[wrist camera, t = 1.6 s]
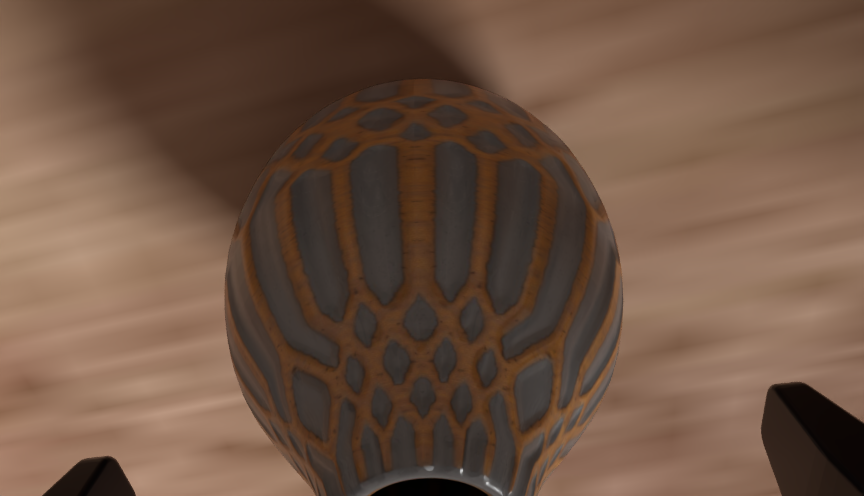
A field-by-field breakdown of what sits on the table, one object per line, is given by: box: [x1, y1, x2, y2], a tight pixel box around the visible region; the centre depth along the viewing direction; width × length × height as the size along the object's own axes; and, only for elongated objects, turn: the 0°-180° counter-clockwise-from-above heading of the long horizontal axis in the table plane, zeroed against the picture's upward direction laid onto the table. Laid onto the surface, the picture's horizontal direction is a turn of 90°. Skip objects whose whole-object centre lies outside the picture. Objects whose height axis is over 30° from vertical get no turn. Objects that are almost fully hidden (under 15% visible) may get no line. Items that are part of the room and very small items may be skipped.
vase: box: [225, 79, 623, 496], centre depth 12 cm, size 7×7×9 cm
